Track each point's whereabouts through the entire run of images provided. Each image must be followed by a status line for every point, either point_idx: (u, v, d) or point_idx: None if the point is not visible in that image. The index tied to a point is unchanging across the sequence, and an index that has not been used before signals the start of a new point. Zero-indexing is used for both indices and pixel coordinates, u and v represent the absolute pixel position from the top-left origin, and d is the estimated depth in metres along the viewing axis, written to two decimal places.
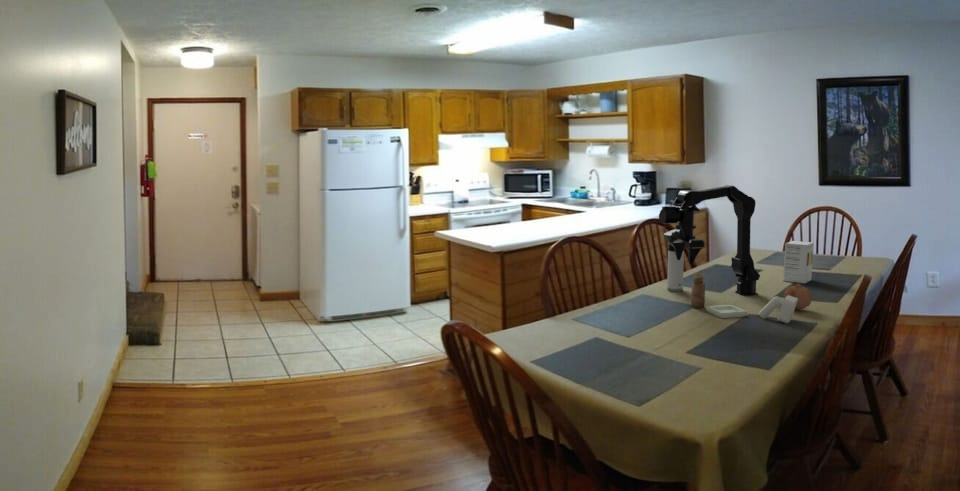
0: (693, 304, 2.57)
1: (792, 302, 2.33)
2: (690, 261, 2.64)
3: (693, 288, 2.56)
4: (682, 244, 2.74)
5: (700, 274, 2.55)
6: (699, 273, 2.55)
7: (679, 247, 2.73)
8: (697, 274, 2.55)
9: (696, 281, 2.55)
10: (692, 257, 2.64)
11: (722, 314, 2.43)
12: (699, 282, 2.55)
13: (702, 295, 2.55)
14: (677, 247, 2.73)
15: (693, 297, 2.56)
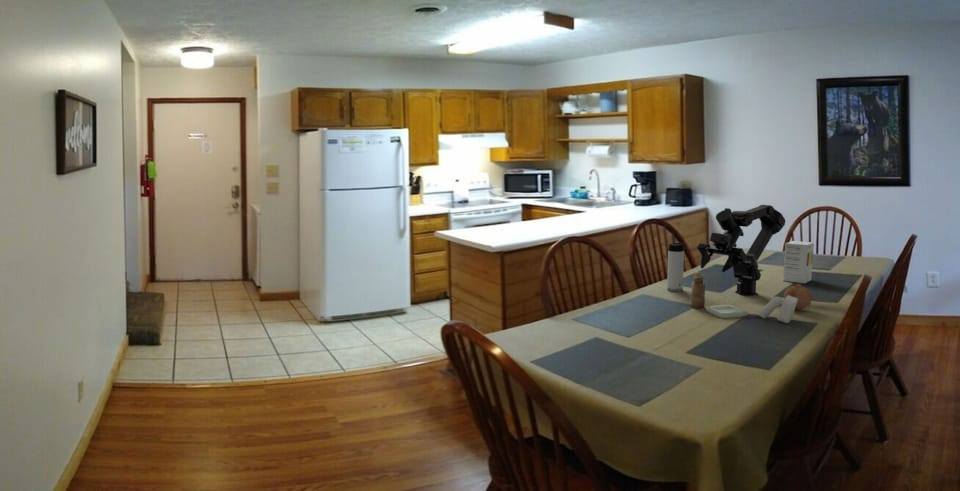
0: (693, 304, 2.57)
1: (792, 302, 2.33)
2: (724, 268, 2.57)
3: (693, 288, 2.56)
4: (709, 257, 2.68)
5: (700, 274, 2.55)
6: (699, 273, 2.55)
7: (706, 258, 2.66)
8: (697, 274, 2.55)
9: (696, 281, 2.55)
10: (728, 266, 2.57)
11: (722, 314, 2.43)
12: (699, 282, 2.55)
13: (702, 295, 2.55)
14: (705, 257, 2.66)
15: (693, 297, 2.56)
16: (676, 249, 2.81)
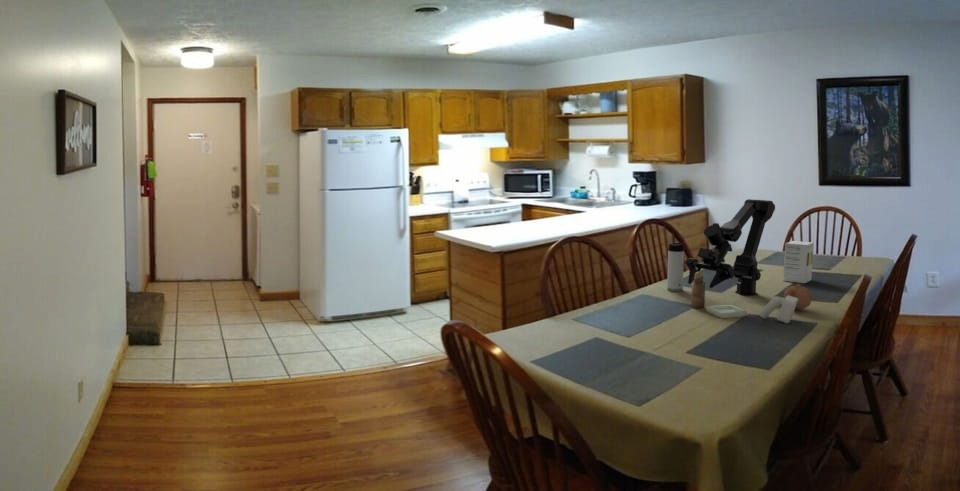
0: (693, 304, 2.57)
1: (792, 302, 2.33)
2: (712, 284, 2.53)
3: (693, 288, 2.56)
4: None
5: (700, 274, 2.55)
6: (699, 273, 2.55)
7: (694, 273, 2.63)
8: (697, 274, 2.55)
9: (696, 281, 2.55)
10: (716, 282, 2.54)
11: (722, 314, 2.43)
12: (699, 282, 2.55)
13: (702, 295, 2.55)
14: (693, 272, 2.62)
15: (693, 297, 2.56)
16: (676, 249, 2.81)
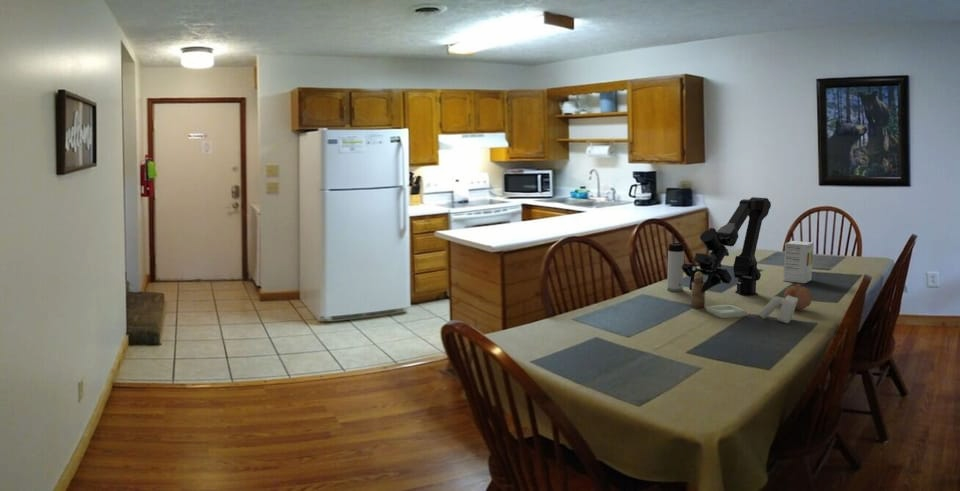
0: (693, 304, 2.57)
1: (792, 302, 2.33)
2: (703, 288, 2.54)
3: (693, 288, 2.56)
4: None
5: (700, 274, 2.55)
6: (699, 273, 2.55)
7: None
8: (697, 274, 2.55)
9: (696, 281, 2.55)
10: (707, 286, 2.54)
11: (722, 314, 2.43)
12: (699, 282, 2.55)
13: (702, 295, 2.55)
14: None
15: (693, 297, 2.56)
16: (676, 249, 2.81)
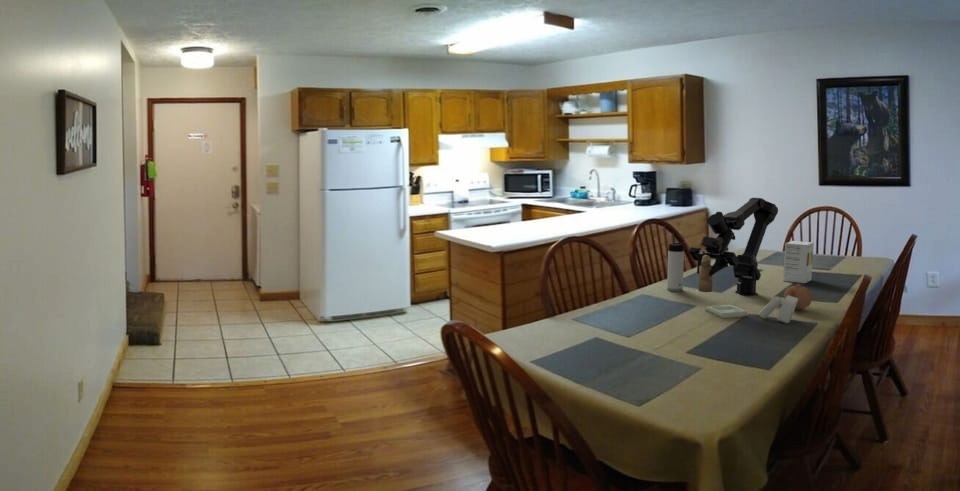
0: (701, 288, 2.57)
1: (792, 302, 2.33)
2: (711, 272, 2.55)
3: (701, 271, 2.57)
4: None
5: (708, 257, 2.56)
6: (707, 256, 2.56)
7: None
8: (705, 257, 2.56)
9: (704, 264, 2.56)
10: (715, 269, 2.55)
11: (722, 314, 2.43)
12: (707, 265, 2.56)
13: (710, 278, 2.56)
14: None
15: (701, 280, 2.57)
16: (676, 249, 2.81)
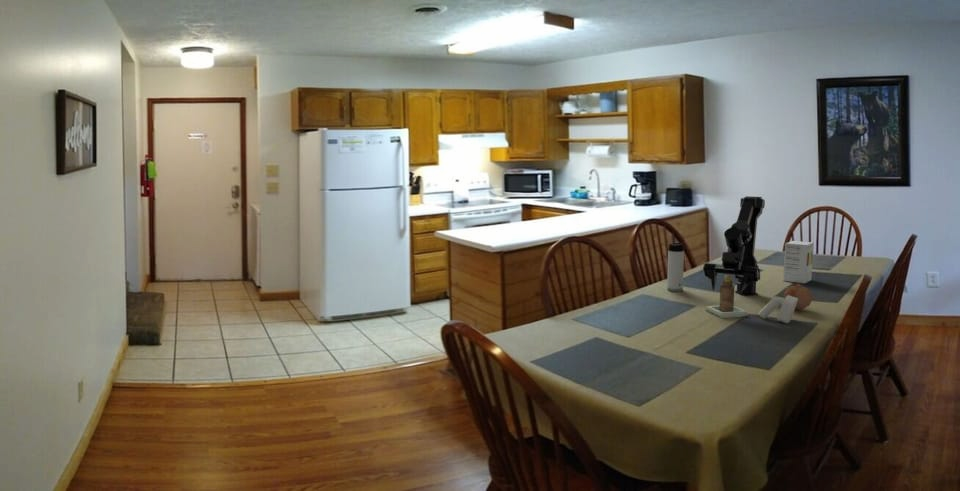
0: (724, 309, 2.46)
1: (792, 302, 2.33)
2: (741, 289, 2.44)
3: (724, 292, 2.46)
4: (715, 278, 2.53)
5: (730, 277, 2.45)
6: (729, 276, 2.45)
7: (715, 278, 2.51)
8: (727, 278, 2.45)
9: (726, 285, 2.46)
10: (744, 286, 2.45)
11: (722, 314, 2.43)
12: (730, 286, 2.45)
13: (733, 299, 2.46)
14: (714, 278, 2.51)
15: (724, 302, 2.46)
16: (676, 249, 2.81)
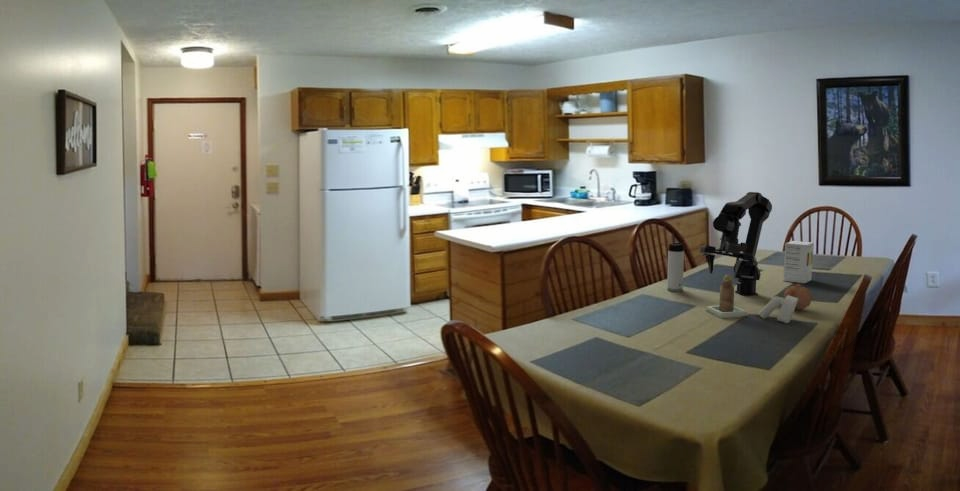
0: (724, 309, 2.46)
1: (792, 302, 2.33)
2: (737, 275, 2.59)
3: (724, 292, 2.46)
4: None
5: (730, 277, 2.45)
6: (729, 276, 2.45)
7: None
8: (727, 278, 2.45)
9: (726, 285, 2.46)
10: None
11: (722, 314, 2.43)
12: (729, 286, 2.45)
13: (733, 299, 2.46)
14: None
15: (724, 302, 2.46)
16: (676, 249, 2.81)
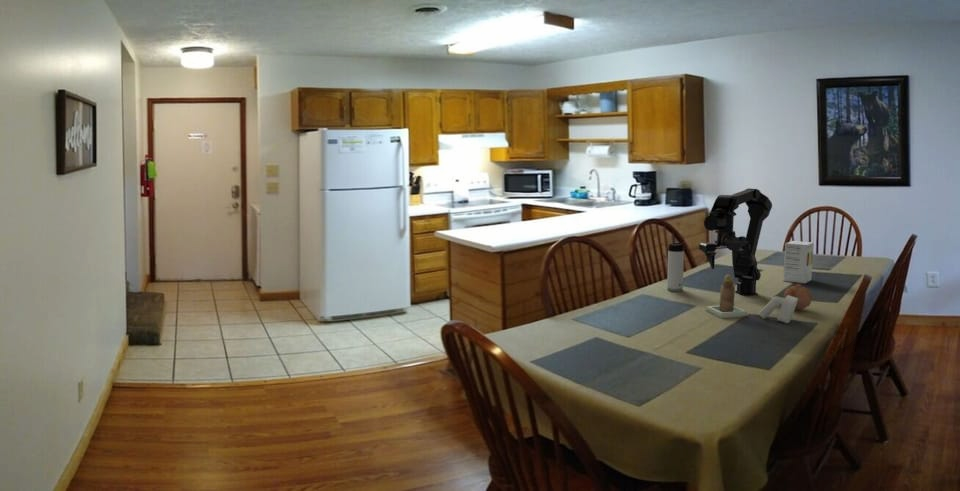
0: (724, 309, 2.46)
1: (792, 302, 2.33)
2: None
3: (725, 292, 2.46)
4: None
5: (731, 277, 2.45)
6: (730, 276, 2.45)
7: None
8: (728, 277, 2.45)
9: (727, 285, 2.45)
10: None
11: (722, 314, 2.43)
12: (730, 286, 2.45)
13: (733, 299, 2.46)
14: None
15: (724, 302, 2.46)
16: (676, 249, 2.81)
